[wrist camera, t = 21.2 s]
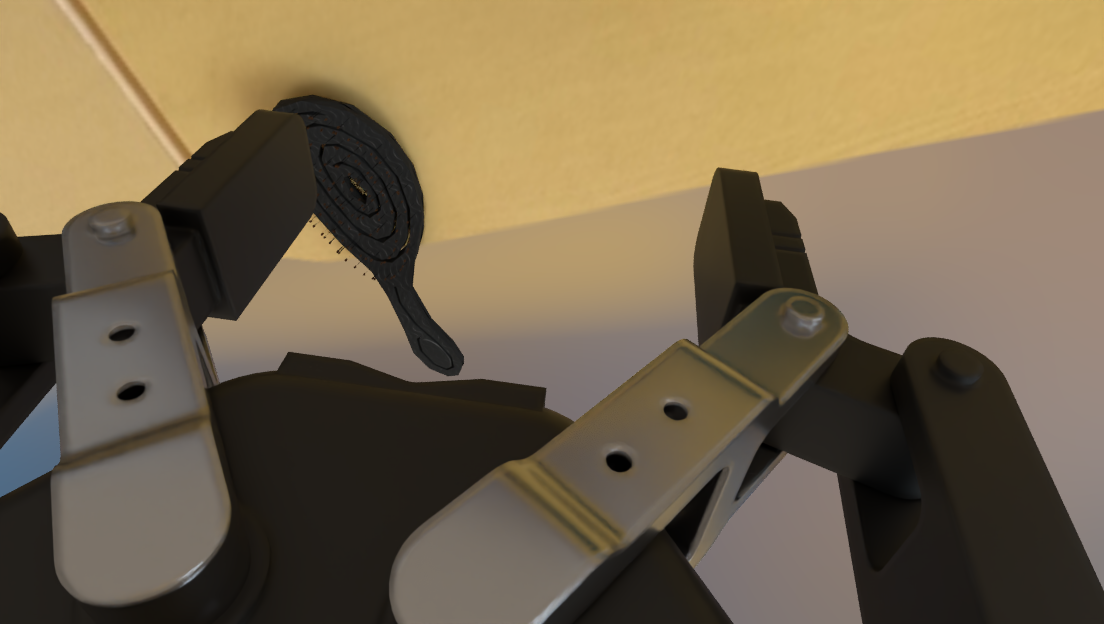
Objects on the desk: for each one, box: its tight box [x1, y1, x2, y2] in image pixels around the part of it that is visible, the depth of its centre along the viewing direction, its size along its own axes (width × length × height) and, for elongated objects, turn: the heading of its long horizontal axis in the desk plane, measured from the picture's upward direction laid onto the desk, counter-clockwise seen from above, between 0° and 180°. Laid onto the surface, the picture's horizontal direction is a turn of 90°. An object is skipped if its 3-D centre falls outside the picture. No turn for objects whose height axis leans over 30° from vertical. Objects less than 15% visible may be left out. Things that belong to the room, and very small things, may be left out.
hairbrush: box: [272, 95, 464, 376], centre depth 46 cm, size 8×4×25 cm
